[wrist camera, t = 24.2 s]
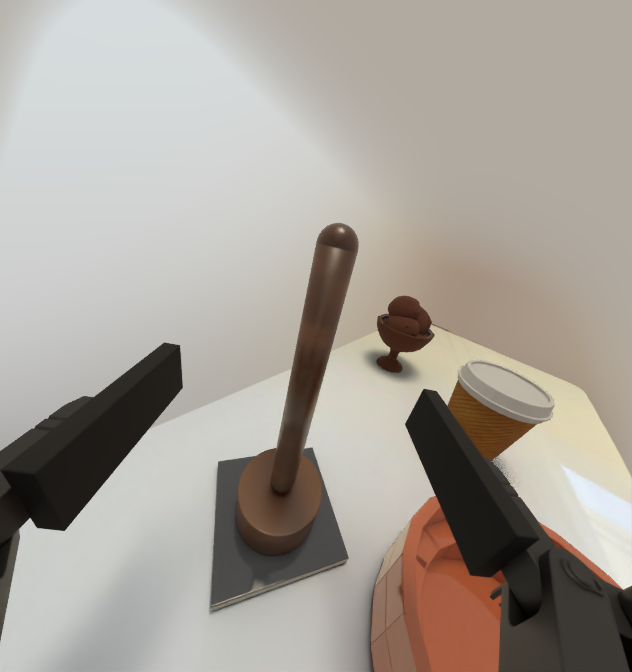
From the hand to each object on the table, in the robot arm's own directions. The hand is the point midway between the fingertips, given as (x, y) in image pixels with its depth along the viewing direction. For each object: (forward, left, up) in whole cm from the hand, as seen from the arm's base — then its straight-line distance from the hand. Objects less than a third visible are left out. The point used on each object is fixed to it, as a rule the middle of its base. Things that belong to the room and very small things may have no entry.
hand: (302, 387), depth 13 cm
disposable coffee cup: (+27, +4, -16) cm, 31 cm away
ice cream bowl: (+29, +24, -16) cm, 40 cm away
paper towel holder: (+1, +1, -15) cm, 15 cm away
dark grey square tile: (+1, +2, -15) cm, 16 cm away
